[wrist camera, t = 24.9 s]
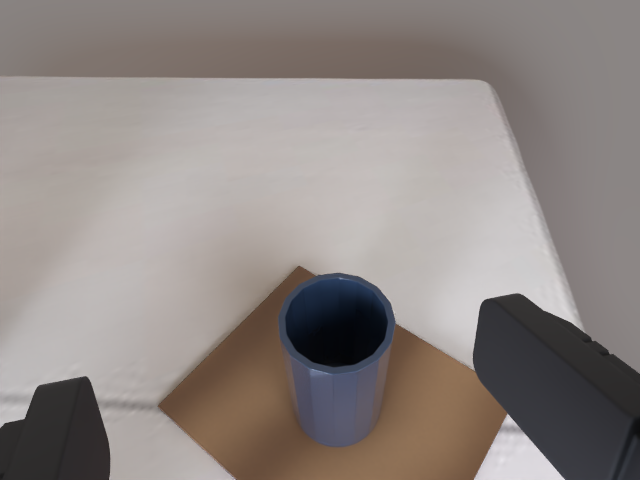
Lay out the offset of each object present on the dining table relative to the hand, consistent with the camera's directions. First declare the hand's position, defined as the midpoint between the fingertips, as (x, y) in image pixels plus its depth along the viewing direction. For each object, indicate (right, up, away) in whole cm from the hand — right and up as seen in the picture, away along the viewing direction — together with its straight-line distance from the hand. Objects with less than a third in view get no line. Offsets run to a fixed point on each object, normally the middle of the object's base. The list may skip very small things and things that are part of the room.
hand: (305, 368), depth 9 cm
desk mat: (+1, -9, +24) cm, 26 cm away
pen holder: (+2, -9, +24) cm, 25 cm away
